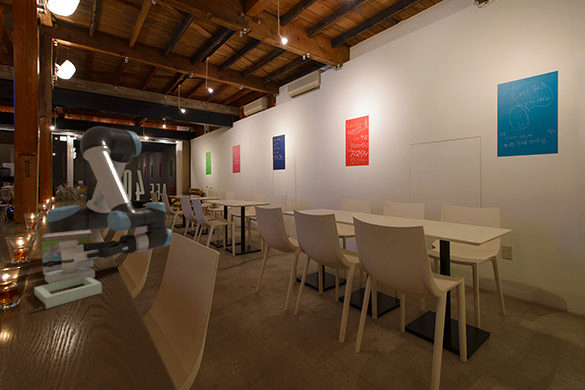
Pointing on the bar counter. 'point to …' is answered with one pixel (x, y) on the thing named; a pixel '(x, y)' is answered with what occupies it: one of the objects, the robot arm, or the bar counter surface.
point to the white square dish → (56, 275)
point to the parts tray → (69, 295)
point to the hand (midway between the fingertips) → (67, 255)
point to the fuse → (68, 256)
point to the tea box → (53, 253)
